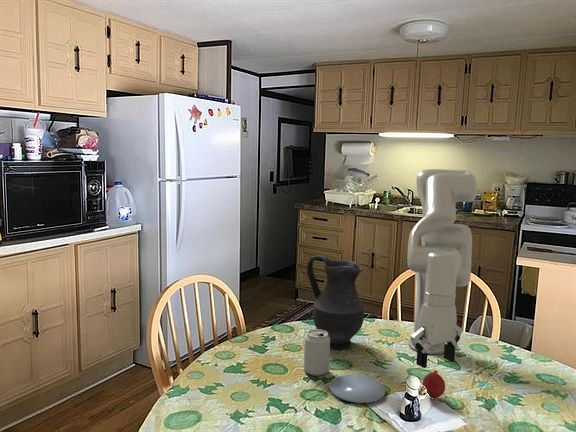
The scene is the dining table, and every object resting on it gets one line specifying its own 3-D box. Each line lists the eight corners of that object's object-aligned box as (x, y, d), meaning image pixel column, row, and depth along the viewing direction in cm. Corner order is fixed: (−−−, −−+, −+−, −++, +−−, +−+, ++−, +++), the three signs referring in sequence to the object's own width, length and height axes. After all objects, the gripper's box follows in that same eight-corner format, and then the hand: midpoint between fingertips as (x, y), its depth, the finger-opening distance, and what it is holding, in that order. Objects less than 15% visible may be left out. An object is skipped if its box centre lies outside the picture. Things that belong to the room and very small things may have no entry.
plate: (362, 374, 141) (363, 370, 141) (396, 397, 128) (396, 393, 128) (319, 384, 134) (319, 380, 134) (350, 410, 121) (350, 406, 121)
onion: (432, 406, 124) (434, 376, 123) (416, 396, 129) (418, 367, 128) (448, 401, 127) (451, 372, 126) (433, 391, 132) (434, 363, 131)
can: (327, 378, 138) (328, 338, 136) (301, 375, 139) (302, 335, 138) (330, 367, 145) (331, 329, 144) (305, 364, 147) (307, 326, 145)
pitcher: (349, 359, 151) (353, 266, 147) (293, 344, 162) (295, 257, 158) (370, 342, 166) (374, 257, 162) (317, 329, 176) (320, 249, 173)
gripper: (452, 292, 131) (448, 353, 133) (404, 298, 123) (400, 363, 125) (474, 299, 125) (470, 363, 127) (424, 306, 117) (420, 374, 118)
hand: (435, 363), depth 126 cm, fingers open, 9 cm apart
